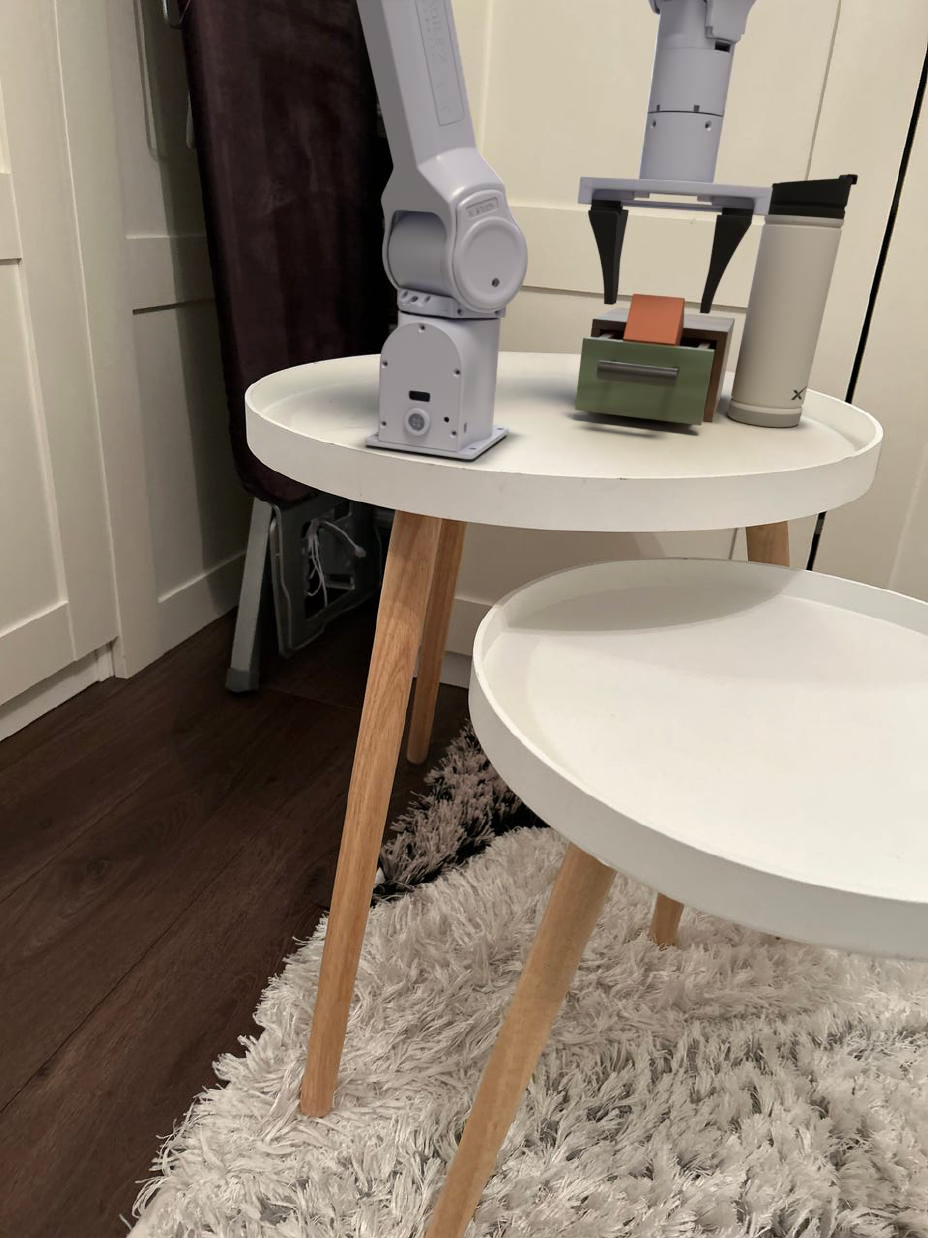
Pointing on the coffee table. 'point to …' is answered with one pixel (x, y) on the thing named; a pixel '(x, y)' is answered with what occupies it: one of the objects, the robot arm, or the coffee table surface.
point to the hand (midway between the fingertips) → (656, 308)
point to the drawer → (645, 378)
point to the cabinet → (693, 328)
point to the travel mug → (788, 300)
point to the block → (655, 319)
